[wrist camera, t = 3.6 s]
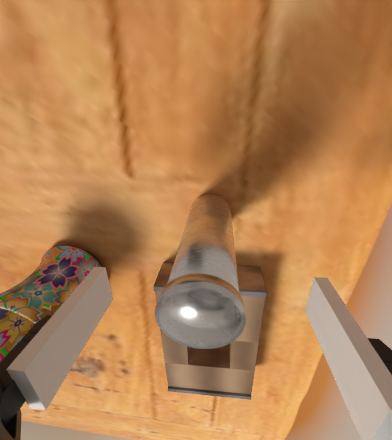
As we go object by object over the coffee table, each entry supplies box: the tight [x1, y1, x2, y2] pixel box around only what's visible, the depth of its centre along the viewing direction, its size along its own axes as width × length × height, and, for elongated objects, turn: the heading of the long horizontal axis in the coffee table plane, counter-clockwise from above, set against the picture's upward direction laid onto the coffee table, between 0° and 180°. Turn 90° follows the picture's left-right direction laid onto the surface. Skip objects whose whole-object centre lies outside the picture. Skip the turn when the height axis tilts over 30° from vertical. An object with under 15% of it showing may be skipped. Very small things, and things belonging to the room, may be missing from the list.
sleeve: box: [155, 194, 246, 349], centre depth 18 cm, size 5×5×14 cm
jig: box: [154, 263, 267, 400], centre depth 30 cm, size 12×20×4 cm, turn 1°
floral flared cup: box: [0, 246, 101, 362], centre depth 26 cm, size 12×9×11 cm
